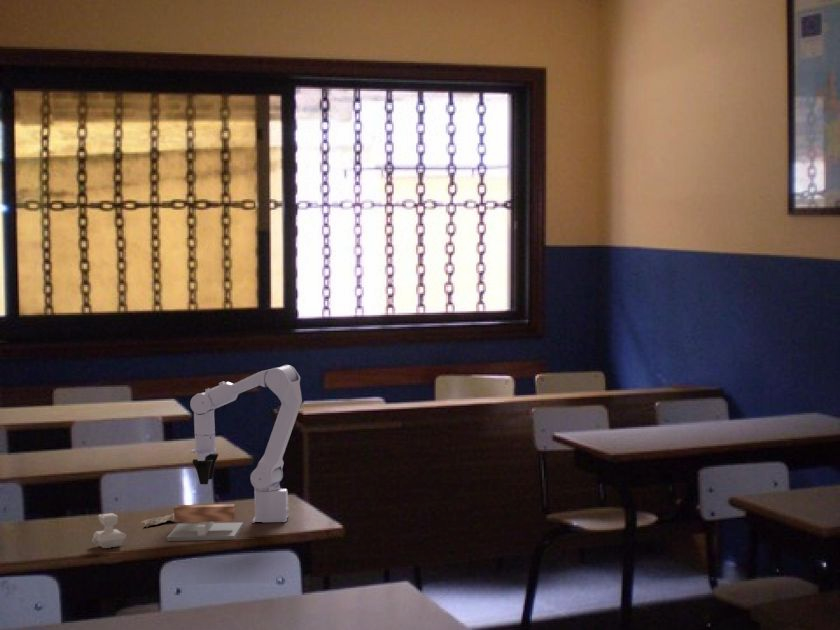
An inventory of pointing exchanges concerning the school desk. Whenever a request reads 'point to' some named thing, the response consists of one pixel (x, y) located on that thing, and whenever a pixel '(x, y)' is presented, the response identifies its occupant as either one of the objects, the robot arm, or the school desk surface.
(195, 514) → the stick
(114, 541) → the stamp
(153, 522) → the stone fragment
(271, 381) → the robot arm
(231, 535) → the board
